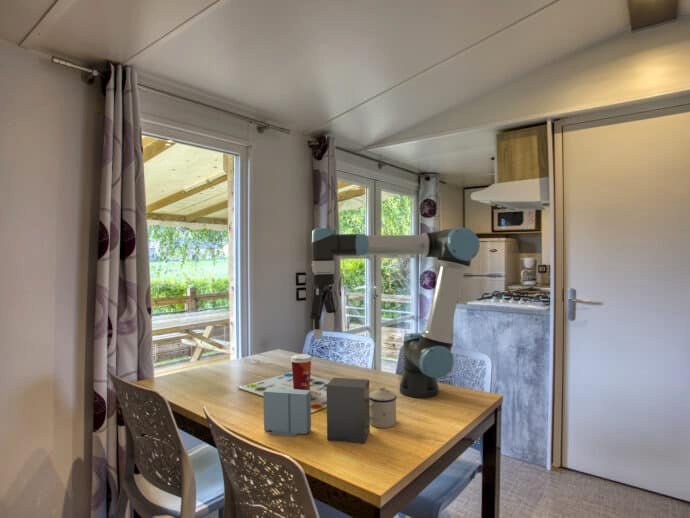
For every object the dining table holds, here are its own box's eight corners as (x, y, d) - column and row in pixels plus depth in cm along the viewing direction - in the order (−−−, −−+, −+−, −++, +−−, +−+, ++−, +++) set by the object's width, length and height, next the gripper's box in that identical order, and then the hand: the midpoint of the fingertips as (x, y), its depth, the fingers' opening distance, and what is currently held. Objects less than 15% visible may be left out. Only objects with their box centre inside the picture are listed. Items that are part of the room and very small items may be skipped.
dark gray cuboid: (369, 432, 128) (369, 379, 128) (364, 444, 120) (363, 387, 120) (331, 428, 131) (330, 377, 131) (323, 439, 123) (323, 385, 123)
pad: (304, 426, 133) (304, 425, 133) (295, 437, 125) (295, 436, 125) (280, 424, 135) (280, 423, 135) (270, 434, 127) (270, 433, 127)
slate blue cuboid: (311, 428, 131) (310, 390, 130) (306, 434, 127) (306, 394, 126) (269, 424, 134) (269, 387, 134) (264, 429, 130) (263, 391, 130)
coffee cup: (309, 399, 158) (308, 359, 158) (288, 397, 160) (287, 358, 160) (315, 391, 166) (314, 354, 166) (295, 390, 168) (294, 353, 168)
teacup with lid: (382, 415, 142) (382, 380, 142) (402, 423, 135) (402, 387, 135) (356, 424, 134) (355, 388, 134) (375, 433, 127) (375, 395, 127)
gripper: (323, 271, 157) (324, 328, 158) (300, 275, 133) (301, 341, 134) (342, 271, 156) (343, 328, 156) (322, 275, 131) (323, 342, 132)
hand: (324, 334), depth 145 cm, fingers open, 13 cm apart
